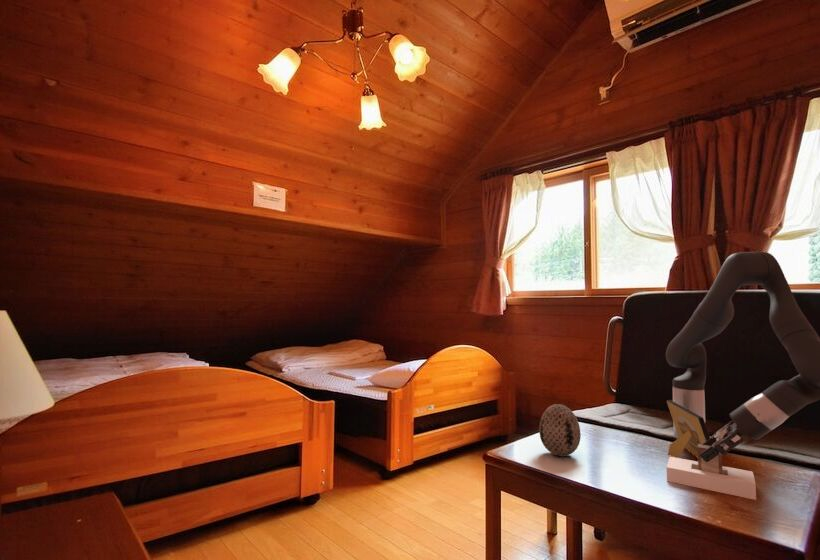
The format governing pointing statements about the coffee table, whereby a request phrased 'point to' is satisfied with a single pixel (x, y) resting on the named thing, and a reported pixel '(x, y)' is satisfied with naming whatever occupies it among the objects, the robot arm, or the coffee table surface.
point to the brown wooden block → (710, 466)
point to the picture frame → (687, 430)
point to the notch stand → (712, 478)
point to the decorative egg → (559, 430)
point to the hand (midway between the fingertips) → (703, 453)
